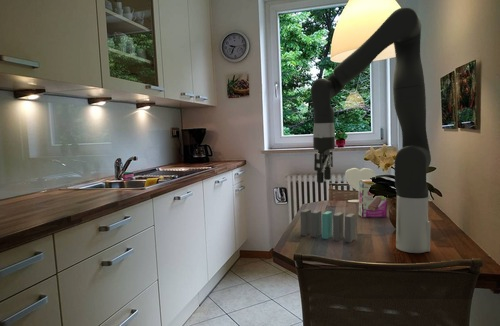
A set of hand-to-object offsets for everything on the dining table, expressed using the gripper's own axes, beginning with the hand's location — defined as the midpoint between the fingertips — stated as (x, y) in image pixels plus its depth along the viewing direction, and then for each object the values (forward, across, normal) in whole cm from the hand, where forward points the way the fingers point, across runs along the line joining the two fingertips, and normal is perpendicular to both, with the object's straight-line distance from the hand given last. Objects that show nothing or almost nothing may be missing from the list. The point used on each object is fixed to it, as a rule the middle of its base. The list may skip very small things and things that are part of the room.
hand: (324, 181), depth 131 cm
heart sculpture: (+21, -72, -2) cm, 75 cm away
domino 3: (+20, 0, +1) cm, 21 cm away
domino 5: (+20, +1, +10) cm, 23 cm away
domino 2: (+20, 0, -3) cm, 21 cm away
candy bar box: (+21, -39, +10) cm, 45 cm away
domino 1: (+20, -1, -7) cm, 22 cm away
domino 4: (+20, 0, +5) cm, 21 cm away
